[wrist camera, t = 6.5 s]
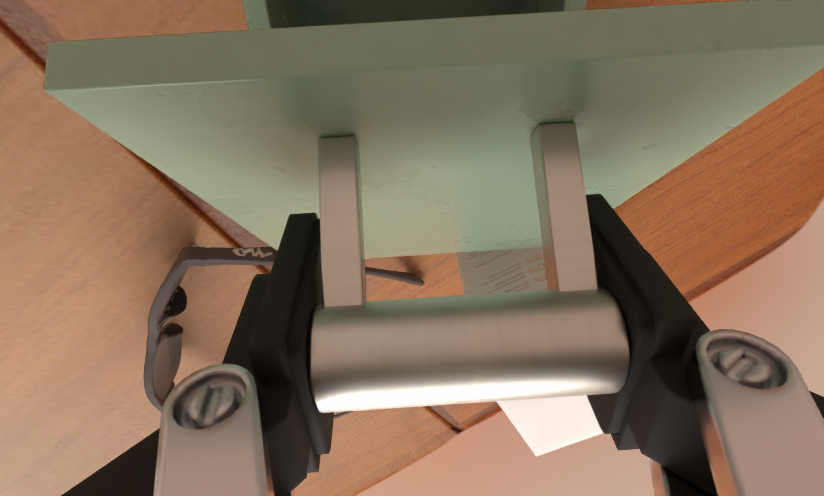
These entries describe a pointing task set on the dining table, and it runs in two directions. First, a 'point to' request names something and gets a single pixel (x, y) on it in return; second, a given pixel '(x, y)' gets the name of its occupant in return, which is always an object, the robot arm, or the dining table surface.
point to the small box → (543, 417)
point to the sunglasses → (173, 301)
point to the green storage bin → (387, 10)
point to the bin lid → (445, 164)
